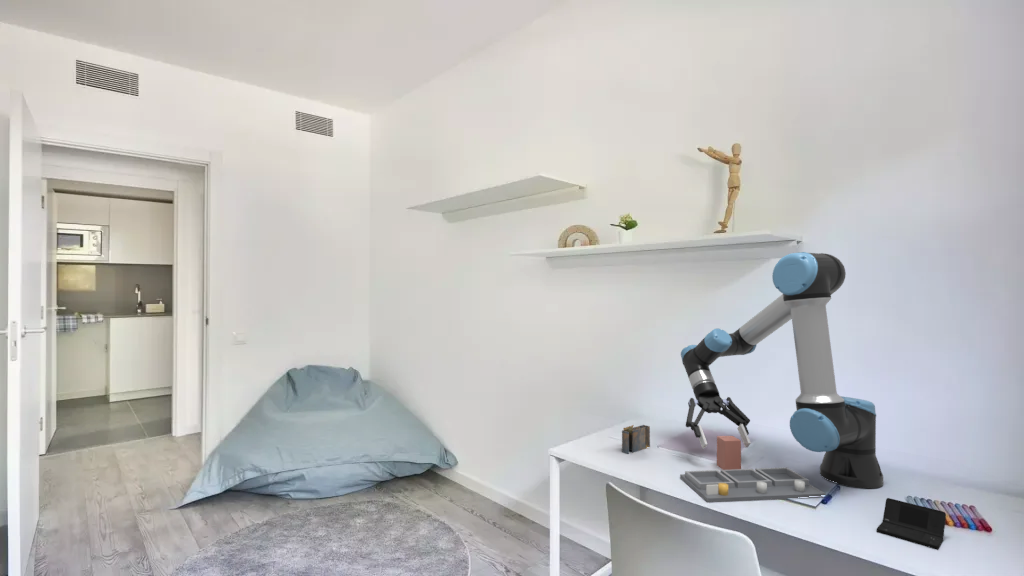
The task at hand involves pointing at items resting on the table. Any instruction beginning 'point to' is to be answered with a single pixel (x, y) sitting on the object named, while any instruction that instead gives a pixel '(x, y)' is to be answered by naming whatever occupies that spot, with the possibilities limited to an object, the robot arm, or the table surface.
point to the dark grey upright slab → (635, 438)
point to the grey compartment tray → (749, 484)
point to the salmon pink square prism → (728, 452)
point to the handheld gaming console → (913, 523)
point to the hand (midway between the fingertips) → (726, 446)
